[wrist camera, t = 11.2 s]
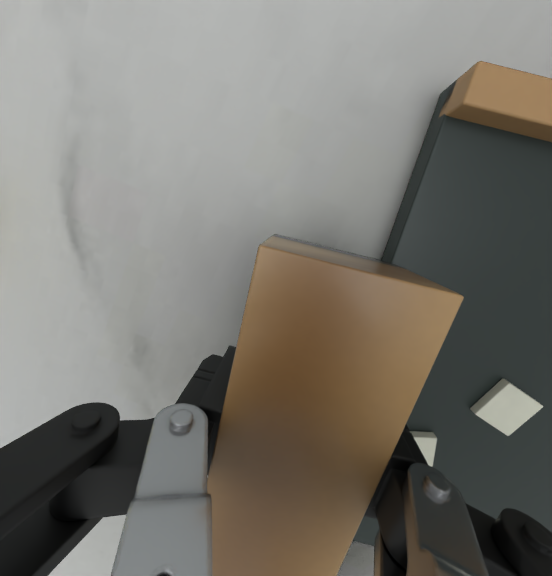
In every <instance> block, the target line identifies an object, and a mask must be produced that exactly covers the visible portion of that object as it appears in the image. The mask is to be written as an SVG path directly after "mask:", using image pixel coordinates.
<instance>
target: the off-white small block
mask: <svg viewBox="0 0 552 576" xmlns="http://www.w3.org/2000/svg"><path fill="white" fill-rule="evenodd" d="M410 433H412V435H413V437H414V439H415V441H416V443H417V444H418V446H419V448H420V450H421V452H422V454H423V456H424V457H425V459H426V461H427V463H428V465H429V466H431V467H433V461H434V455H435V449H436V443H437V437H436V436H435V434H434V433H433V432H418V431H410Z"/></svg>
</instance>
